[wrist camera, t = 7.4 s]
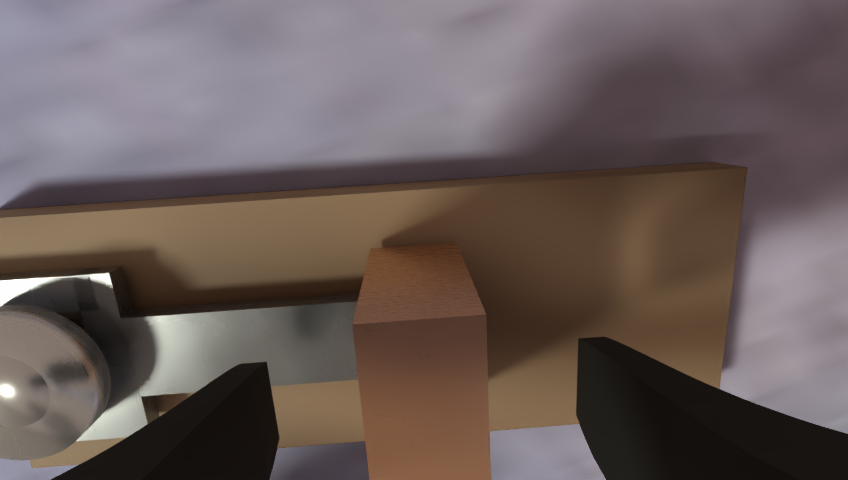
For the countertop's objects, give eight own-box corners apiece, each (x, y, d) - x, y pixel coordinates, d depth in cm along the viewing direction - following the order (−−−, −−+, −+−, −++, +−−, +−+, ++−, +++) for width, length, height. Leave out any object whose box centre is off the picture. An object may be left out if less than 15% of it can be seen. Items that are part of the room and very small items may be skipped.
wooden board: (689, 386, 17) (716, 412, 15) (65, 436, 16) (32, 468, 15) (712, 162, 14) (747, 167, 13) (-6, 210, 14) (-53, 221, 12)
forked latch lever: (473, 397, 14) (506, 534, 10) (-42, 438, 14) (-266, 601, 9) (467, 241, 13) (503, 313, 8) (-103, 281, 12) (-400, 380, 8)
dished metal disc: (153, 402, 14) (108, 453, 12) (20, 413, 14) (-49, 466, 12) (122, 279, 13) (68, 312, 11) (-22, 290, 13) (-105, 324, 11)
